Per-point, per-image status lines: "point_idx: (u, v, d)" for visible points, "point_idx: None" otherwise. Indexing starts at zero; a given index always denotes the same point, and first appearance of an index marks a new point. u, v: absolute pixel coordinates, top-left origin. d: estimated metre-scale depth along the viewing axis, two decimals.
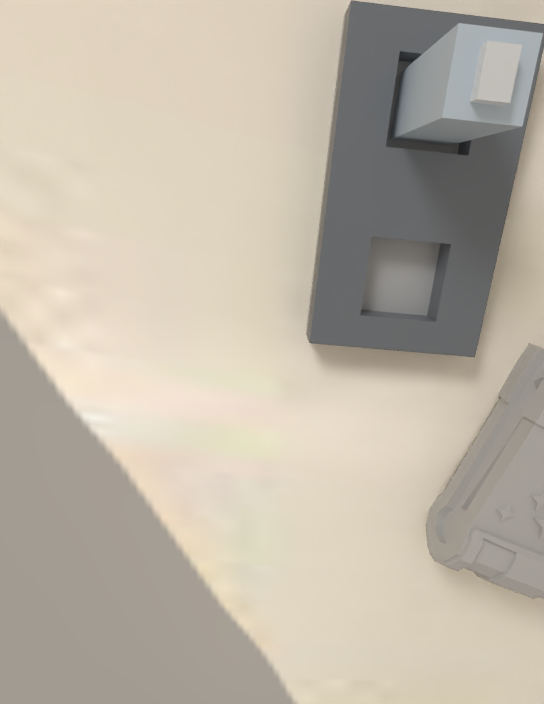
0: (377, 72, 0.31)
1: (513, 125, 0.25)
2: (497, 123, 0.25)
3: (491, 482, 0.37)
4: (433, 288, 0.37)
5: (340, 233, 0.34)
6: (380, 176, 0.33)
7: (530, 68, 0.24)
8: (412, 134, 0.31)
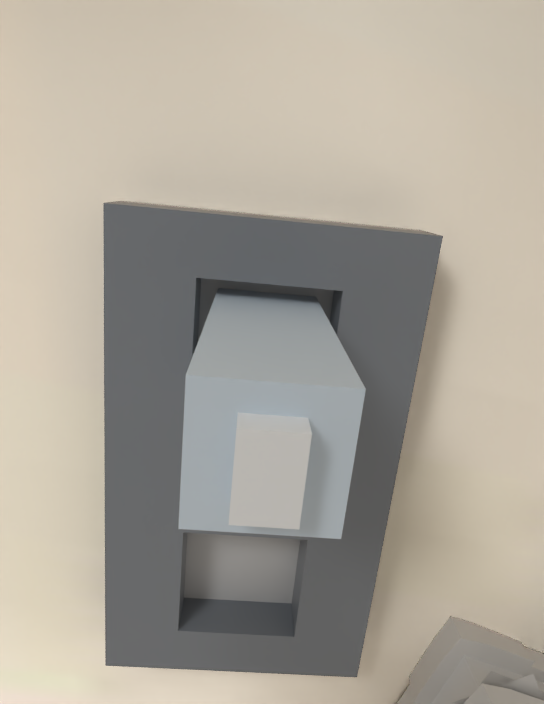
0: (162, 309, 0.19)
1: (324, 535, 0.13)
2: (291, 533, 0.13)
3: None
4: (296, 574, 0.25)
5: (132, 529, 0.22)
6: None
7: (346, 448, 0.12)
8: None
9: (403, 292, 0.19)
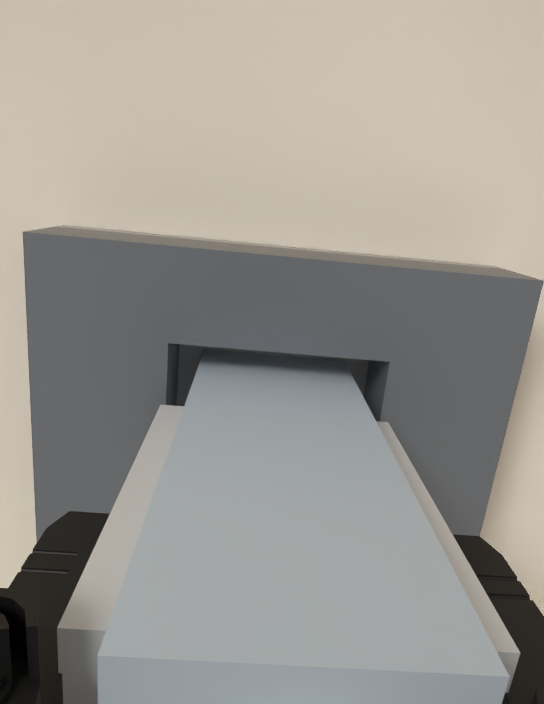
0: (118, 389, 0.13)
1: None
2: None
3: None
4: None
5: None
6: None
7: None
8: None
9: (480, 363, 0.13)
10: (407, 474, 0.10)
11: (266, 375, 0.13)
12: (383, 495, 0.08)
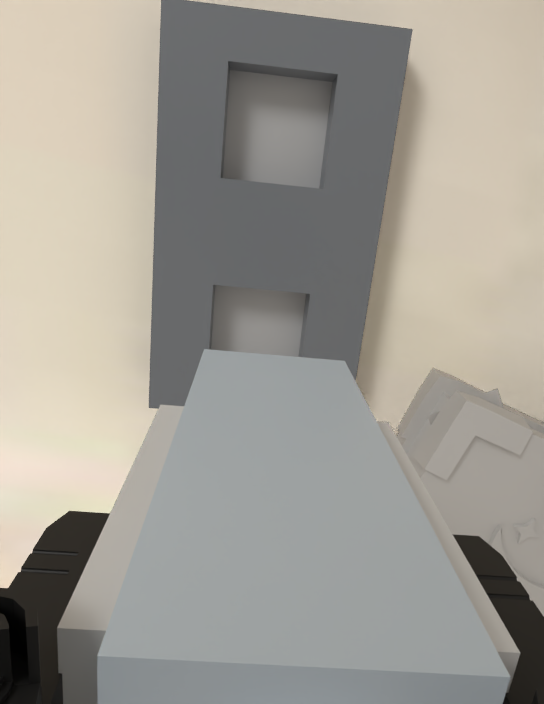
0: (202, 87, 0.25)
1: None
2: None
3: None
4: (300, 342, 0.31)
5: (174, 281, 0.28)
6: (217, 213, 0.27)
7: None
8: None
9: (383, 76, 0.25)
10: (407, 474, 0.10)
11: (266, 375, 0.13)
12: (383, 495, 0.08)
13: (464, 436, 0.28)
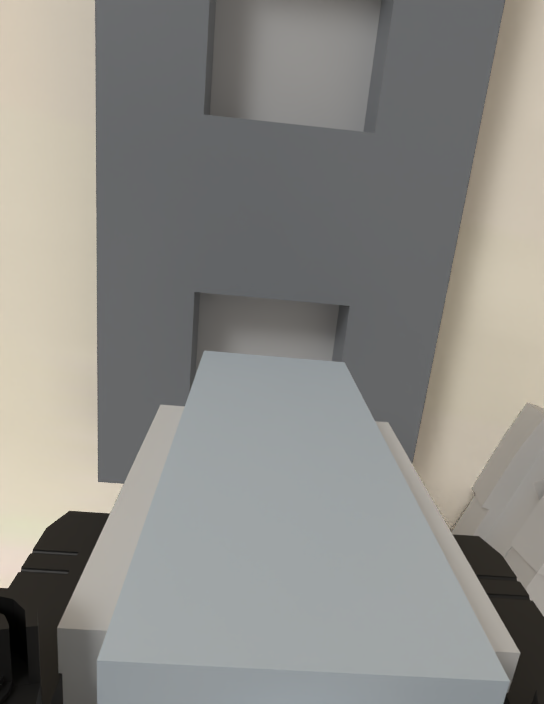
0: None
1: None
2: None
3: None
4: None
5: (131, 286, 0.17)
6: (199, 175, 0.16)
7: None
8: None
9: None
10: (407, 474, 0.10)
11: (266, 377, 0.13)
12: (383, 498, 0.08)
13: None
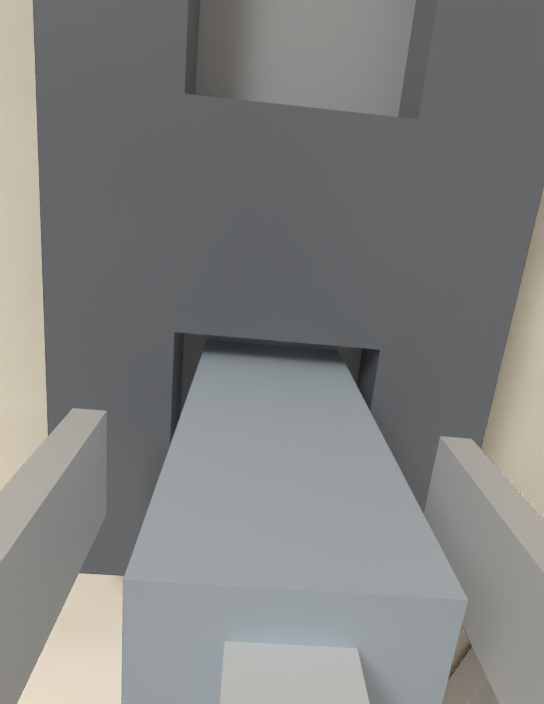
0: None
1: None
2: None
3: None
4: None
5: (90, 325, 0.13)
6: (179, 177, 0.12)
7: (425, 696, 0.06)
8: None
9: None
10: (512, 497, 0.10)
11: (265, 363, 0.14)
12: (369, 463, 0.09)
13: None
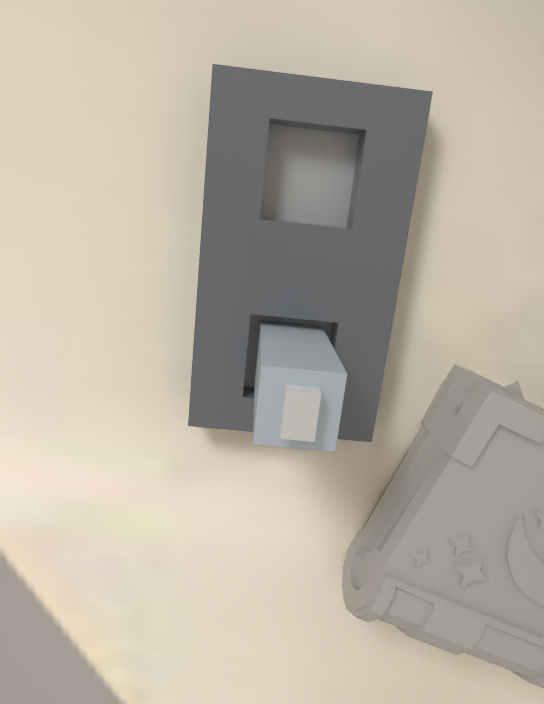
0: (246, 140, 0.28)
1: (326, 449, 0.25)
2: (310, 448, 0.25)
3: (405, 522, 0.33)
4: None
5: (215, 310, 0.31)
6: (256, 250, 0.30)
7: (337, 403, 0.24)
8: None
9: (406, 131, 0.28)
10: None
11: (288, 328, 0.31)
12: (327, 354, 0.27)
13: (489, 425, 0.30)
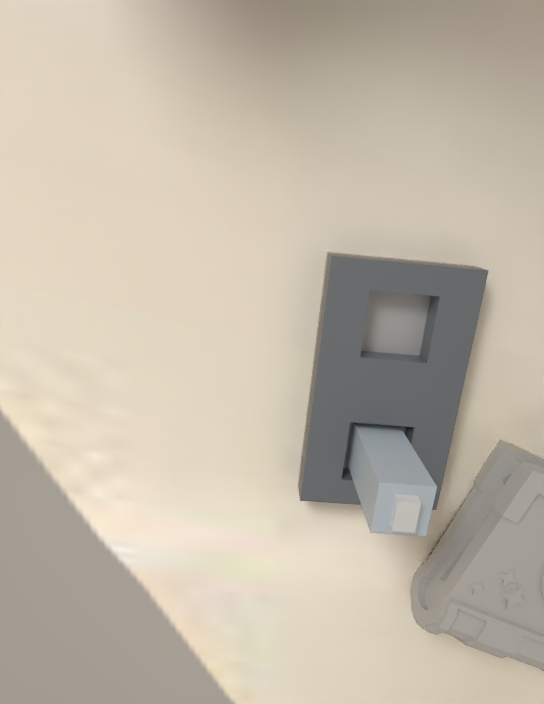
0: (353, 305, 0.39)
1: (420, 535, 0.36)
2: (409, 534, 0.36)
3: (465, 561, 0.44)
4: None
5: (324, 420, 0.42)
6: (356, 378, 0.41)
7: (429, 505, 0.35)
8: None
9: (468, 297, 0.39)
10: None
11: (377, 430, 0.43)
12: (416, 463, 0.38)
13: (530, 494, 0.41)
